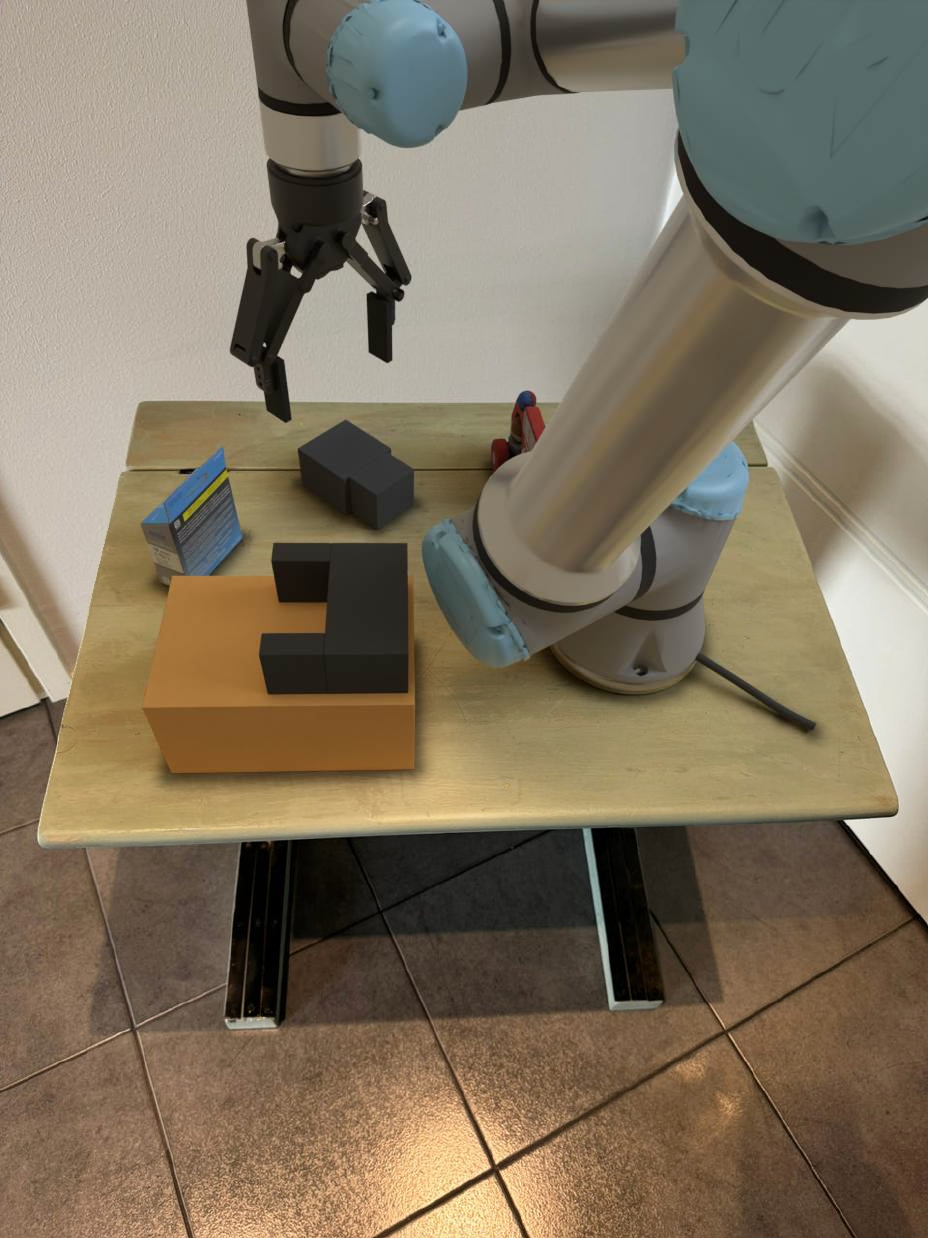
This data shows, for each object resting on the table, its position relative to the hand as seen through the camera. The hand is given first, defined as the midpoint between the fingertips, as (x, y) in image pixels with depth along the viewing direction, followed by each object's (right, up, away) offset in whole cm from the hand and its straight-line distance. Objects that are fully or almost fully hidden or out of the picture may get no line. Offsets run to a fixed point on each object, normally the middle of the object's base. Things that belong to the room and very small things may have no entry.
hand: (331, 384), depth 82 cm
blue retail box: (-13, -17, +2) cm, 22 cm away
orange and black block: (-1, -31, -9) cm, 32 cm away
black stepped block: (+2, -9, +9) cm, 13 cm away
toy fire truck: (+20, -8, +12) cm, 24 cm away
